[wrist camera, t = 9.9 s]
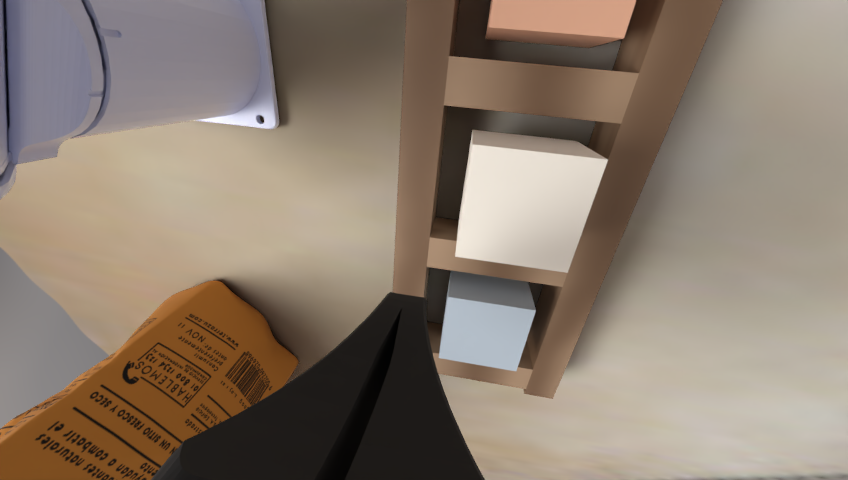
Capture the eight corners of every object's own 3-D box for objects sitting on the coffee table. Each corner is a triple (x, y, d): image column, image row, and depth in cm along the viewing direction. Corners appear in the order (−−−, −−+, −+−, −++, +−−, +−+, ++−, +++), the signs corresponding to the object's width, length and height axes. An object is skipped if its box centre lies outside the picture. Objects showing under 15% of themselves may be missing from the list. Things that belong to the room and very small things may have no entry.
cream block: (458, 221, 18) (454, 256, 14) (472, 129, 15) (472, 144, 12) (548, 233, 17) (567, 272, 14) (576, 140, 15) (607, 159, 12)
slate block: (443, 316, 24) (438, 358, 20) (451, 261, 22) (447, 296, 18) (509, 327, 23) (516, 371, 20) (525, 272, 21) (536, 310, 18)
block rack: (397, 340, 26) (389, 369, 23) (433, -227, 12) (421, -312, 10) (544, 364, 25) (552, 398, 22) (766, -222, 11) (857, -315, 8)
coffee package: (243, 391, 33) (-97, 852, 13) (152, 302, 28) (-553, 790, 9) (316, 370, 29) (12, 936, 10) (226, 265, 25) (-623, 905, 6)
